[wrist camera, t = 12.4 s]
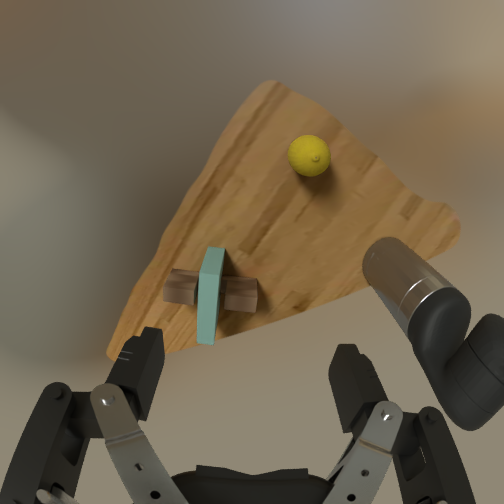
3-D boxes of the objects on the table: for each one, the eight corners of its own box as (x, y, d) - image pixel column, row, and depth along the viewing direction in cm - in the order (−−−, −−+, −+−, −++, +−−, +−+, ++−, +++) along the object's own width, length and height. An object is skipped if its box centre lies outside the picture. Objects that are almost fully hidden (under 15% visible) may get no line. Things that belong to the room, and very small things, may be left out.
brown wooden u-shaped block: (256, 278, 46) (257, 298, 40) (254, 292, 47) (255, 312, 41) (172, 268, 45) (163, 286, 40) (172, 282, 46) (163, 301, 41)
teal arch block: (208, 246, 44) (199, 272, 35) (224, 248, 44) (219, 275, 36) (204, 309, 48) (196, 342, 40) (219, 311, 48) (213, 345, 40)
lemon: (306, 180, 40) (318, 189, 32) (276, 156, 38) (283, 160, 31) (329, 152, 38) (347, 155, 31) (300, 127, 37) (312, 125, 29)
